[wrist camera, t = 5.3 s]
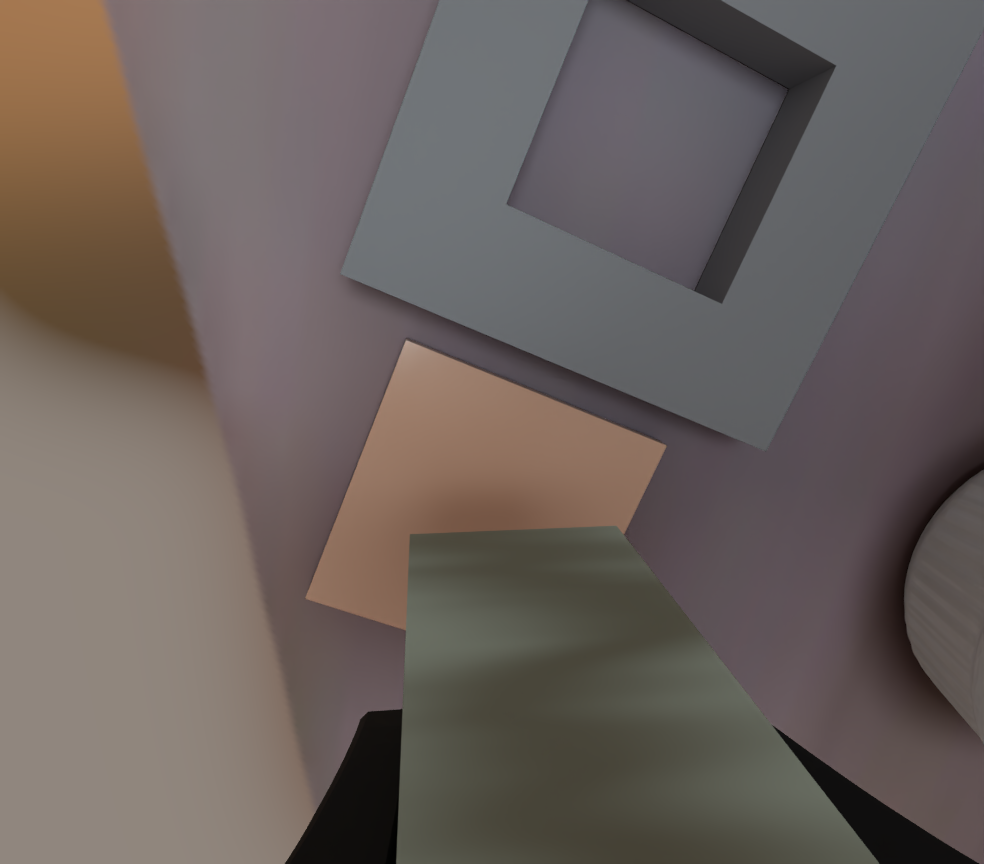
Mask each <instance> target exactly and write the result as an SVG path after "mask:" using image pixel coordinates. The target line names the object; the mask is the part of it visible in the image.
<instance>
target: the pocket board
mask: <svg viewBox="0 0 984 864" xmlns="http://www.w3.org/2000/svg"><path fill="white" fill-rule="evenodd" d="M628 1H630V2H632V3H634V4H635V5H637V6H639V7H641V8H643V9H645V10H646V11H648V12H650V13H652V14H654V15H656V16H657V17H659V18H661V19H663V20H665V21H666V22H668V23H670V24H672V25H674V26H676V27H677V28H679V29H681V30H683V31H685V32H687V33H688V34H690V35H692V36H694V37H696V38H697V39H699V40H701V41H703V42H705V43H707V44H708V45H710V46H712V47H714V48H716V49H718V50H719V51H721V52H723V53H725V54H727V55H728V56H730V57H732V58H734V59H736V60H738V61H739V62H741V63H743V64H745V65H747V66H749V67H750V68H752V69H754V70H756V71H758V72H759V73H761V74H763V75H765V76H767V77H769V78H770V79H772V80H774V81H776V82H778V83H780V84H781V85H783V86H785V87H787V88H789V91H788V94H787V96H786V98H785V100H784V102H783V104H782V106H781V108H780V111H779V113H778V115H777V117H776V119H775V121H774V123H773V125H772V128H771V130H770V132H769V134H768V136H767V138H766V140H765V142H764V145H763V147H762V149H761V151H760V153H759V155H758V157H757V159H756V162H755V164H754V166H753V168H752V170H751V172H750V174H749V177H748V179H747V181H746V183H745V185H744V187H743V189H742V191H741V194H740V196H739V198H738V200H737V202H736V204H735V206H734V208H733V211H732V213H731V215H730V217H729V219H728V221H727V223H726V225H725V228H724V230H723V232H722V234H721V236H720V238H719V240H718V242H717V245H716V247H715V249H714V251H713V253H712V255H711V257H710V259H709V262H708V264H707V266H706V268H705V270H704V272H703V274H702V277H701V279H700V281H699V283H698V285H697V287H696V289H695V291H693V290H691V289H688V288H686V287H684V286H682V285H680V284H678V283H675V282H673V281H671V280H669V279H667V278H665V277H662V276H660V275H658V274H656V273H654V272H652V271H649V270H647V269H645V268H643V267H641V266H639V265H636V264H634V263H632V262H630V261H628V260H626V259H623V258H621V257H619V256H617V255H615V254H613V253H610V252H608V251H606V250H604V249H602V248H600V247H597V246H595V245H593V244H591V243H589V242H587V241H584V240H582V239H580V238H578V237H576V236H574V235H571V234H569V233H567V232H565V231H563V230H561V229H558V228H556V227H554V226H552V225H550V224H548V223H545V222H543V221H541V220H539V219H537V218H535V217H532V216H530V215H528V214H526V213H524V212H522V211H519V210H517V209H515V208H513V207H511V206H509V205H506V203H507V201H508V198H509V196H510V193H511V191H512V188H513V186H514V183H515V181H516V179H517V176H518V174H519V171H520V169H521V166H522V164H523V161H524V159H525V156H526V154H527V151H528V149H529V146H530V144H531V141H532V139H533V136H534V134H535V131H536V129H537V126H538V124H539V122H540V119H541V117H542V114H543V112H544V109H545V107H546V104H547V102H548V99H549V97H550V94H551V92H552V89H553V87H554V84H555V82H556V79H557V77H558V74H559V72H560V70H561V67H562V65H563V62H564V60H565V57H566V55H567V52H568V50H569V47H570V45H571V42H572V40H573V37H574V35H575V32H576V30H577V27H578V25H579V22H580V20H581V17H582V15H583V13H584V10H585V8H586V5H587V3H588V0H439V3H438V6H437V9H436V11H435V14H434V17H433V20H432V22H431V25H430V28H429V31H428V33H427V36H426V39H425V42H424V44H423V47H422V50H421V53H420V55H419V58H418V61H417V64H416V66H415V69H414V72H413V75H412V78H411V80H410V83H409V86H408V89H407V91H406V94H405V97H404V100H403V102H402V105H401V108H400V111H399V113H398V116H397V119H396V122H395V124H394V127H393V130H392V133H391V135H390V138H389V141H388V144H387V146H386V149H385V152H384V155H383V157H382V160H381V163H380V166H379V168H378V171H377V174H376V177H375V179H374V182H373V185H372V188H371V190H370V193H369V196H368V199H367V201H366V204H365V207H364V210H363V213H362V215H361V218H360V221H359V224H358V226H357V229H356V232H355V235H354V237H353V240H352V243H351V246H350V248H349V251H348V254H347V257H346V259H345V262H344V265H343V268H342V270H341V273H340V274H341V275H344V276H346V277H349V278H351V279H353V280H356V281H358V282H361V283H363V284H365V285H368V286H370V287H373V288H375V289H377V290H380V291H382V292H384V293H387V294H389V295H392V296H394V297H396V298H399V299H401V300H404V301H406V302H408V303H411V304H413V305H416V306H418V307H420V308H423V309H425V310H428V311H430V312H432V313H435V314H437V315H440V316H442V317H444V318H447V319H449V320H452V321H454V322H456V323H459V324H461V325H464V326H466V327H468V328H471V329H473V330H476V331H478V332H480V333H483V334H485V335H488V336H490V337H492V338H495V339H497V340H500V341H502V342H504V343H507V344H509V345H512V346H514V347H516V348H519V349H521V350H524V351H526V352H528V353H531V354H533V355H536V356H538V357H540V358H543V359H545V360H548V361H550V362H552V363H555V364H557V365H560V366H562V367H564V368H567V369H569V370H572V371H574V372H576V373H579V374H581V375H584V376H586V377H588V378H591V379H593V380H595V381H598V382H600V383H603V384H605V385H607V386H610V387H612V388H615V389H617V390H619V391H622V392H624V393H627V394H629V395H631V396H634V397H636V398H639V399H641V400H643V401H646V402H648V403H651V404H653V405H655V406H658V407H660V408H663V409H665V410H667V411H670V412H672V413H675V414H677V415H679V416H682V417H684V418H687V419H689V420H691V421H694V422H696V423H699V424H701V425H703V426H706V427H708V428H711V429H713V430H715V431H718V432H720V433H723V434H725V435H727V436H730V437H732V438H735V439H737V440H739V441H742V442H744V443H747V444H749V445H751V446H754V447H756V448H759V449H761V450H763V451H767V449H768V447H769V445H770V443H771V441H772V439H773V437H774V435H775V433H776V431H777V429H778V427H779V426H780V424H781V422H782V420H783V418H784V416H785V414H786V412H787V410H788V408H789V406H790V404H791V402H792V400H793V398H794V396H795V394H796V393H797V391H798V389H799V387H800V385H801V383H802V381H803V379H804V377H805V375H806V373H807V371H808V369H809V367H810V365H811V363H812V362H813V360H814V358H815V356H816V354H817V352H818V350H819V348H820V346H821V344H822V342H823V340H824V338H825V336H826V334H827V332H828V330H829V329H830V327H831V325H832V323H833V321H834V319H835V317H836V315H837V313H838V311H839V309H840V307H841V305H842V303H843V301H844V299H845V298H846V296H847V294H848V292H849V290H850V288H851V286H852V284H853V282H854V280H855V278H856V276H857V274H858V272H859V270H860V268H861V266H862V265H863V263H864V261H865V259H866V257H867V255H868V253H869V251H870V249H871V247H872V245H873V243H874V241H875V239H876V237H877V235H878V234H879V232H880V230H881V228H882V226H883V224H884V222H885V220H886V218H887V216H888V214H889V212H890V210H891V208H892V206H893V204H894V202H895V201H896V199H897V197H898V195H899V193H900V191H901V189H902V187H903V185H904V183H905V181H906V179H907V177H908V175H909V173H910V171H911V170H912V168H913V166H914V164H915V162H916V160H917V158H918V156H919V154H920V152H921V150H922V148H923V146H924V144H925V142H926V140H927V138H928V137H929V135H930V133H931V131H932V129H933V127H934V125H935V123H936V121H937V119H938V117H939V115H940V113H941V111H942V109H943V107H944V106H945V104H946V102H947V100H948V98H949V96H950V94H951V92H952V90H953V88H954V86H955V84H956V82H957V80H958V78H959V76H960V74H961V73H962V71H963V69H964V67H965V65H966V63H967V61H968V59H969V57H970V55H971V53H972V51H973V49H974V47H975V45H976V43H977V42H978V40H979V38H980V36H981V34H982V32H983V30H984V0H628Z"/></svg>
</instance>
